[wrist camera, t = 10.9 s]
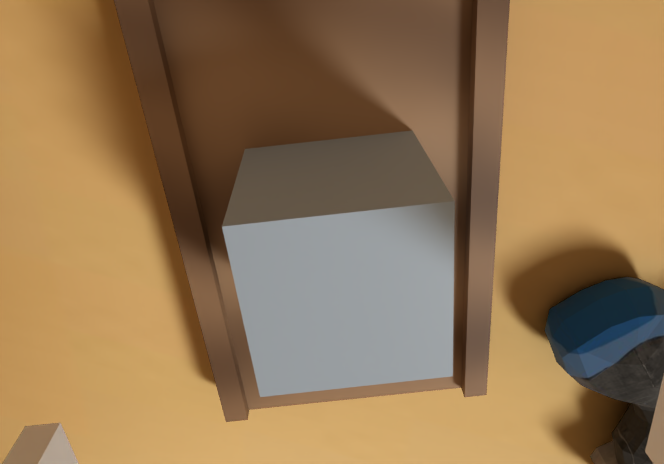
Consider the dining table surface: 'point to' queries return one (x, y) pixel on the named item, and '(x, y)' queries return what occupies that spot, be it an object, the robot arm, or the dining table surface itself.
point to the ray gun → (615, 355)
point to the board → (321, 137)
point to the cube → (343, 263)
